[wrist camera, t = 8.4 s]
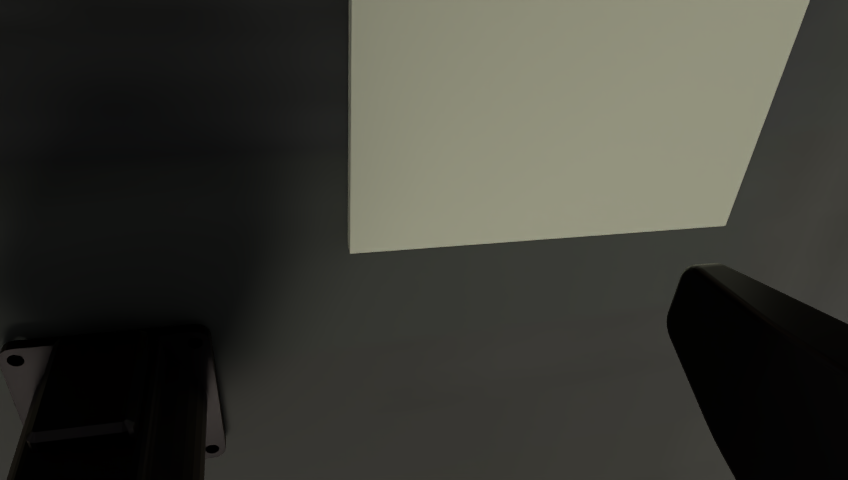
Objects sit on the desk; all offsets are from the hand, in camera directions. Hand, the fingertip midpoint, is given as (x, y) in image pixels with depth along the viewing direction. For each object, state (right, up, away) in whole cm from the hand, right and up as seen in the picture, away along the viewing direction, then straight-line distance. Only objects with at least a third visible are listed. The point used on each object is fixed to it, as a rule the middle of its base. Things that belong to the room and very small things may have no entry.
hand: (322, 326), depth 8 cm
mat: (+6, +7, +13) cm, 16 cm away
